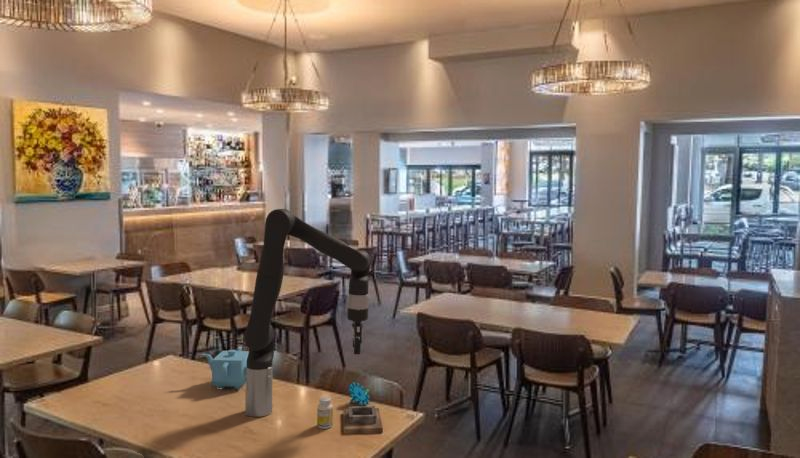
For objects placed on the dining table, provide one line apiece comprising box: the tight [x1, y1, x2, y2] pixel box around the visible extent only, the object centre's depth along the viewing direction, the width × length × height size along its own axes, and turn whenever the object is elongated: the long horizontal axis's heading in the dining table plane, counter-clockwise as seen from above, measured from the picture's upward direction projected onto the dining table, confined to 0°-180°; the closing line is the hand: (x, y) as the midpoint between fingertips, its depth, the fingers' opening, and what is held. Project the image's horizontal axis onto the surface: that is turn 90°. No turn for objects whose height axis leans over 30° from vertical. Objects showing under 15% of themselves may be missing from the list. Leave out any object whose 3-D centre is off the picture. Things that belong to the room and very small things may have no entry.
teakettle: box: [201, 345, 249, 390], centre depth 241 cm, size 19×19×15 cm
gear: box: [347, 382, 370, 406], centre depth 224 cm, size 11×6×10 cm
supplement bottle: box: [316, 396, 334, 430], centre depth 201 cm, size 5×5×10 cm
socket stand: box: [342, 405, 384, 435], centre depth 204 cm, size 13×18×4 cm
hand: (356, 350), depth 209 cm, fingers open, 8 cm apart
